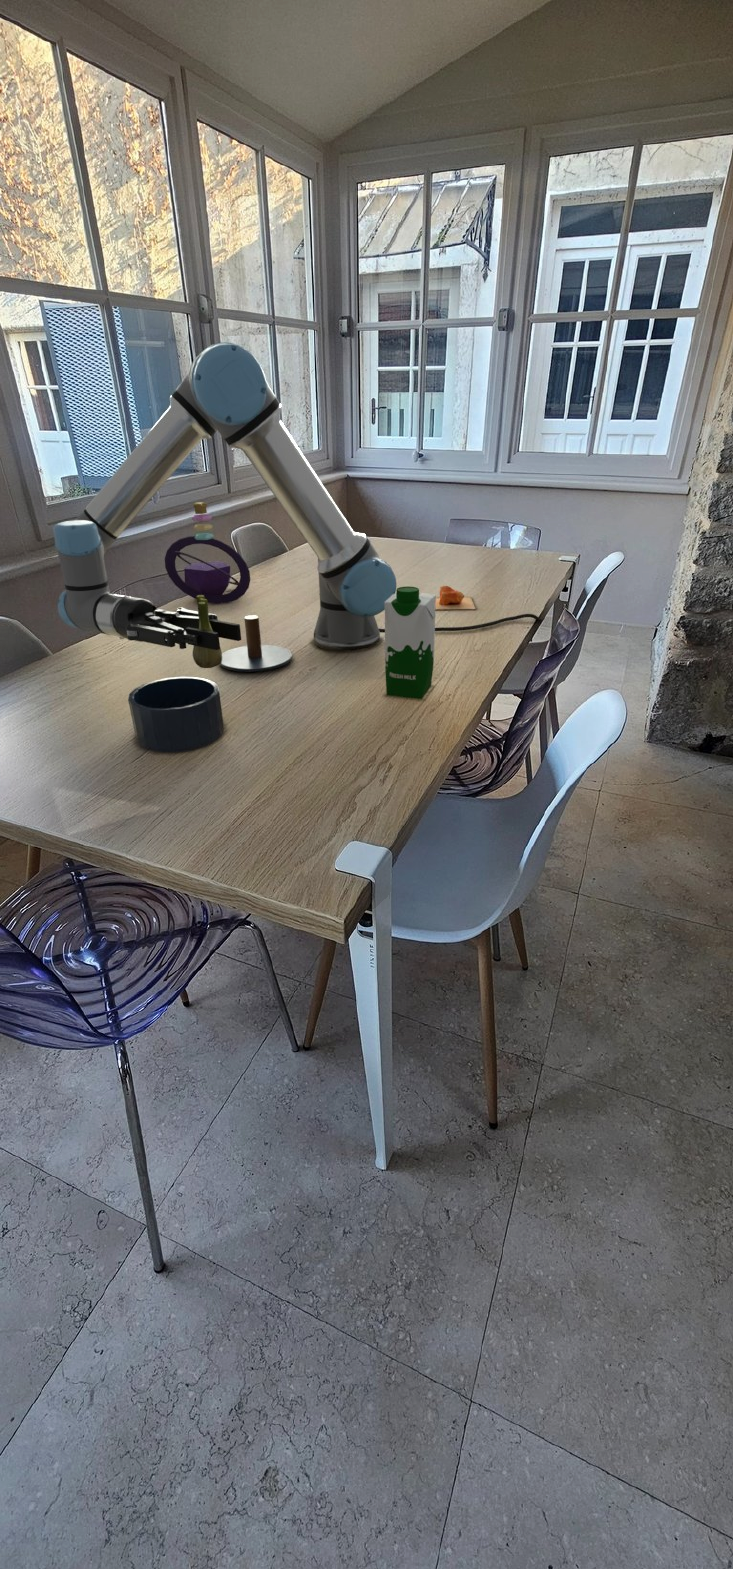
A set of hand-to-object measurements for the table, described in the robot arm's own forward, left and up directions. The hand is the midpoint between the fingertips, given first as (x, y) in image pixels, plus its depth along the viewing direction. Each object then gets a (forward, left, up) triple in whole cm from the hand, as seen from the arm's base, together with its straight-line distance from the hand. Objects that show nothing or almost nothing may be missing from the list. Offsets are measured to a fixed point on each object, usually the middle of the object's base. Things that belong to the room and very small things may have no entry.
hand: (228, 637), depth 116 cm
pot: (+9, +4, -15) cm, 19 cm away
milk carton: (-31, -14, -16) cm, 37 cm away
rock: (-45, -76, -16) cm, 89 cm away
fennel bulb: (+5, -3, -6) cm, 8 cm away
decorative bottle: (+22, -87, -16) cm, 91 cm away
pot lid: (+1, -31, -15) cm, 35 cm away
